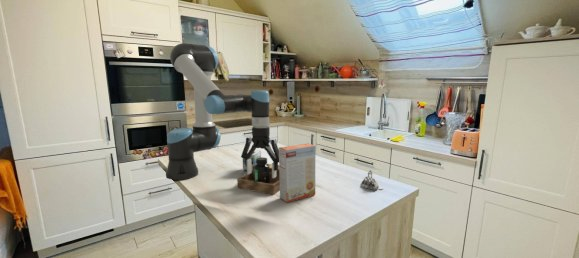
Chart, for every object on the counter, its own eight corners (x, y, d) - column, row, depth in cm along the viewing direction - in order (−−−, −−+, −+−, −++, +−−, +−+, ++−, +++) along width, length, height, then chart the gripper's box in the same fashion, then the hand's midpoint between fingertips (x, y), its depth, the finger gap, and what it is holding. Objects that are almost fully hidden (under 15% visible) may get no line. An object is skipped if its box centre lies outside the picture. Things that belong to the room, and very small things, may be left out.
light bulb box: (255, 175, 134) (254, 154, 133) (242, 175, 136) (241, 154, 134) (261, 169, 145) (261, 150, 143) (249, 168, 146) (249, 149, 144)
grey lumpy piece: (387, 186, 121) (388, 169, 120) (378, 191, 115) (379, 174, 114) (369, 181, 127) (369, 165, 126) (359, 186, 121) (360, 169, 120)
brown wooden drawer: (237, 188, 118) (237, 179, 117) (252, 179, 129) (251, 171, 128) (274, 194, 111) (274, 185, 110) (286, 185, 121) (286, 176, 121)
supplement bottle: (255, 188, 115) (255, 161, 113) (253, 183, 122) (252, 157, 120) (271, 186, 117) (271, 160, 115) (268, 181, 124) (267, 156, 122)
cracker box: (307, 190, 115) (307, 142, 112) (315, 195, 110) (316, 145, 107) (278, 197, 107) (278, 146, 104) (286, 203, 102) (286, 149, 99)
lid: (251, 171, 127) (250, 165, 127) (263, 164, 138) (263, 159, 138) (285, 176, 120) (285, 170, 120) (295, 169, 131) (295, 163, 130)
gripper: (232, 126, 116) (233, 174, 120) (282, 129, 107) (282, 181, 110) (241, 124, 123) (243, 169, 127) (290, 127, 114) (290, 176, 117)
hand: (261, 175), depth 118 cm, fingers open, 12 cm apart
